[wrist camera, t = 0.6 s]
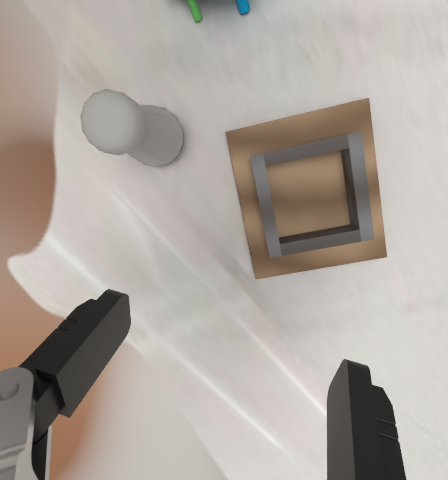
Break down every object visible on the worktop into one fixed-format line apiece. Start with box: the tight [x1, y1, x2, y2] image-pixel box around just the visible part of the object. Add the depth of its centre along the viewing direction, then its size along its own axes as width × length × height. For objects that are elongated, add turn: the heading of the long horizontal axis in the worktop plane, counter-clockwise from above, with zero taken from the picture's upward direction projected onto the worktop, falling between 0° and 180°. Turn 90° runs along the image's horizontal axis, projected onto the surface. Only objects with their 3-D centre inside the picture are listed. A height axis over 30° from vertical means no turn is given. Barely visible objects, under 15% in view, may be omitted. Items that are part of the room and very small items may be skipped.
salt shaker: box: [81, 89, 183, 167], centre depth 27 cm, size 6×6×13 cm
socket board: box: [226, 98, 387, 279], centre depth 31 cm, size 16×14×4 cm
